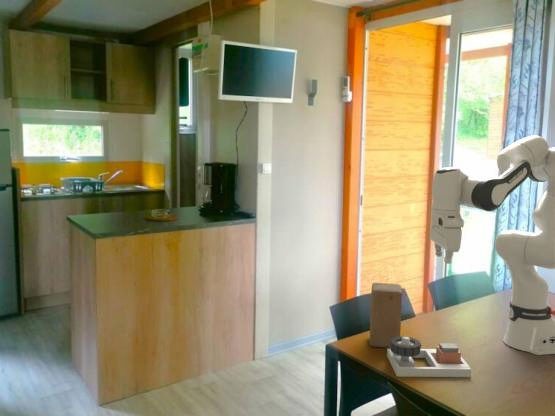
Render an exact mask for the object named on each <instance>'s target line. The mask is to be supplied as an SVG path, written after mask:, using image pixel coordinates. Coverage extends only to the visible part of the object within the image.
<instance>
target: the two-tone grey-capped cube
mask: <svg viewBox="0 0 555 416" xmlns="http://www.w3.org/2000/svg"><path fill="white" fill-rule="evenodd" d="M435 349H436V362H437V363H438V364H460V363H461V357H462V352H461V350H460V349H459V347H458V346H457V344H456V343H455V342H454V343H450V342H449V343H446V342H444V343H442V342H441V343H439V344H438V345H437V346H436V348H435Z"/></svg>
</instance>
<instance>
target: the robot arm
mask: <svg viewBox="0 0 555 416" xmlns="http://www.w3.org/2000/svg"><path fill="white" fill-rule="evenodd" d="M496 165H497V168H498V170H499V172H500V173H501V174H500V175H499V176H498V177H495V178H481V177H473V176H470V175H467V174H466V173H465V172H463V171H461V168H460V167H457V166H444V167H441V168H438V169H437V170H436V171H435V173H434V176H433V181H432V186H431V187H432V189H431V196H432V205H431V209H430V230H429V231H430V232H429V237H430V240H431V241H432V242H433V243H434V245H433V246H434V249H435V252H434V253H435V256H436V257H440V258H441V257H442V256H443V251H442V249H443V250H444V251H445V256H444V257H443V262H444V263H445V264H446V265H447V264H448V265H450V264H452V258H453V256H454V253H459V251H460V249H461V244H462V235H463V234H462V233H463V232H462V231H463V229H462V228H464V224H465V222H464V219H463V218H462V216H461V206H463V207H468V208H473V209H479V210H482V211H485V212H493V211H496V210H498V209H499V208H500V206H502V204H503V203H504V201H505V200H506V199H507V198H508V197H509V195H510V194H512V193H513V192H514V191H515V190H516V189H518V188H519V186H520V185H522V184H523V183H524V182H525V181H526V180H527V179H529V180H530V181H533V182H535V183H544V182H547V185H546V189H545V190H544V192H543V194H542V195H541V197H540V199H539V200H538V202H537V204H536V206H535V207H534V210H533V212H532V215H531V218H532V223H533V224H534V225H535V227H536V228H538V229H539V231H538V232H532V231H526V230H520V229H508V230H507V229H505V230H502V231H500V232H499V233H498V234H497V236H496V238H495V241H494V249H495V251H496V254H497V255H498V256H499V257H500V258H501V260H502V261H503V262H504V264H505V265H506V267H507V269H508V272H509V275H510V279H511V300H510V302H509V305H508V306H509V307H508V323H507V328H506V330H505V334H504V337H503V338H502V341H503V343H504V344H505V345H507V346H509V347H512V348H514V349H516V350H519V351H524V352H528V353H530V354H533V355H537V356H543V355H555V318H554V317H555V308H552V307H550V306H548V297H549V285H548V282H547V280H546V279H545V278H544V277H542V276H541V275H540V274H539V273H538V272H537V270H536V268H535V267H537V268H544V269H548V270H555V146H554V147H550V146H549V144H548V142H547V140H546V139H545V138H544V137H543V136H539V135H530V136H526V137H524V138H522V139H519V140H517V141H515V142H513V143H511V144H510V145H508V146H506V147H505V148H504V149H502V150H501V151H500V153H499V154H498V155H497V159H496ZM552 316H554V317H552Z"/></svg>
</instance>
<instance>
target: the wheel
mask: <svg viewBox="0 0 555 416" xmlns="http://www.w3.org/2000/svg"><path fill="white" fill-rule="evenodd" d="M402 337H407V336H401V335H400V336H399V337H394V338H392V339H391V347H390V348H389V349H391V351H392V352H393V353H395V354H398V355H400V356H405V357H412V356H417V355H419V354H420V350H421V349H422V345H421V344H422V343H421V342H420V340H418V338H413V337H411V336H408V337H409V338H410V346H405V345H402Z"/></svg>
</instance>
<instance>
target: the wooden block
mask: <svg viewBox="0 0 555 416" xmlns="http://www.w3.org/2000/svg"><path fill="white" fill-rule="evenodd" d="M370 293H371V294H370V296H371V297H370V320H369V323H370V324H369V346H371V347H372V348H373V347H375V348H376V347H377V348H386V349H390V347H391V339H392V338H394V337H399V336H401V330H402V329H401V326H402V325H401V324H402V302H403V291H402V285H401V284H399V283H383V282H373V283H372V285H371V292H370Z"/></svg>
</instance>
